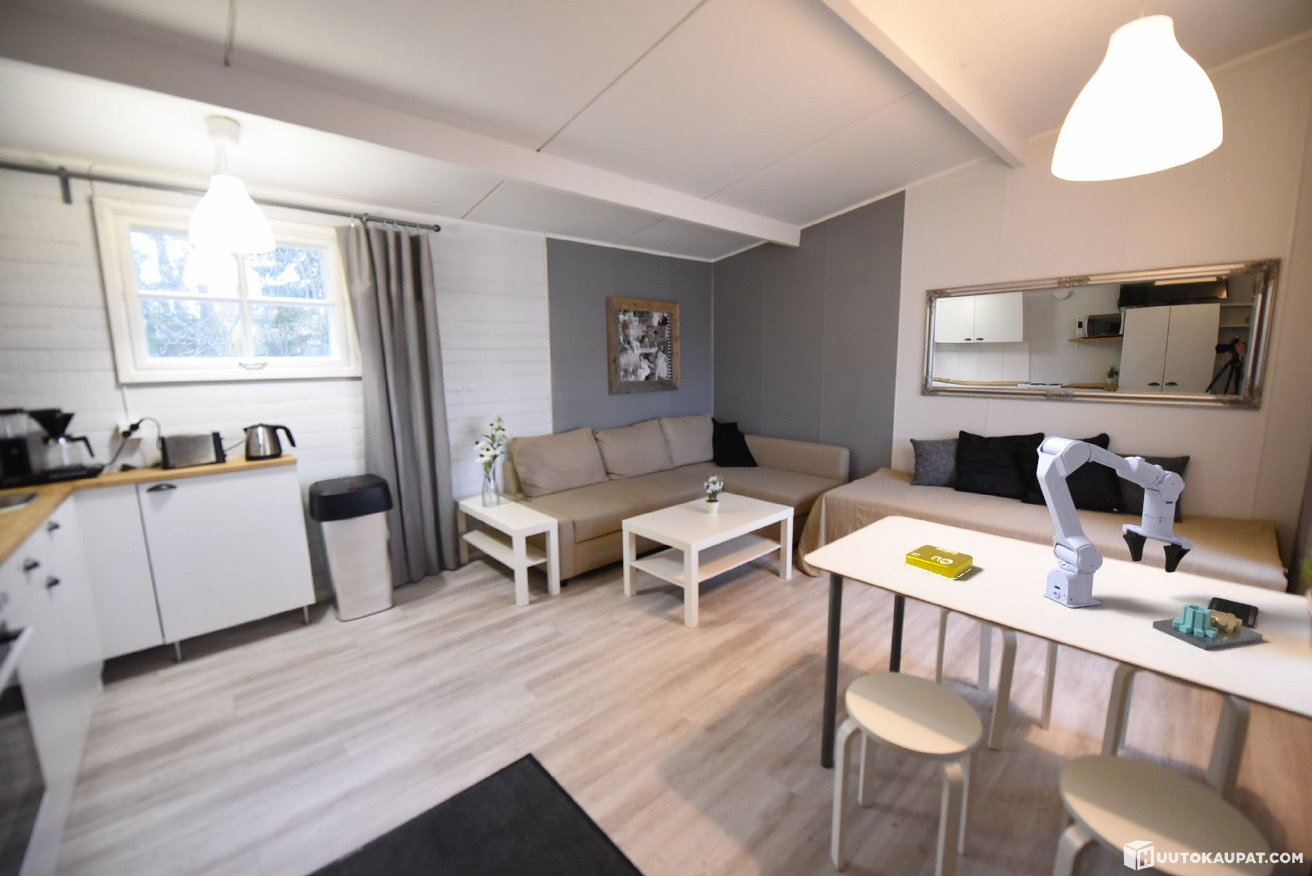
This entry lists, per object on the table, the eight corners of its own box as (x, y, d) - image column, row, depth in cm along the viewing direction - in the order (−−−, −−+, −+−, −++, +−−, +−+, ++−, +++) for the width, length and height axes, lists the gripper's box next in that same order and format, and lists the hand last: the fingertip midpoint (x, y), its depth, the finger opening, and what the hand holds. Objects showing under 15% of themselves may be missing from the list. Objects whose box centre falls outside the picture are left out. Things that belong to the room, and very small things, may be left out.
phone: (1258, 606, 125) (1253, 626, 116) (1258, 611, 125) (1253, 630, 117) (1212, 596, 132) (1204, 613, 123) (1211, 600, 132) (1203, 618, 123)
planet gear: (1201, 639, 110) (1204, 617, 110) (1164, 624, 117) (1166, 603, 117) (1226, 635, 112) (1229, 613, 111) (1188, 620, 118) (1190, 599, 118)
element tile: (974, 569, 156) (975, 554, 156) (953, 582, 148) (954, 567, 147) (925, 556, 168) (925, 542, 168) (902, 567, 159) (903, 553, 159)
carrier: (1205, 650, 109) (1207, 627, 108) (1152, 627, 119) (1154, 606, 118) (1262, 641, 112) (1265, 618, 111) (1206, 619, 121) (1208, 598, 121)
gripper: (1205, 522, 123) (1199, 575, 124) (1139, 507, 137) (1134, 555, 139) (1182, 525, 121) (1176, 578, 123) (1117, 509, 136) (1113, 557, 137)
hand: (1152, 566), depth 131 cm, fingers open, 7 cm apart
